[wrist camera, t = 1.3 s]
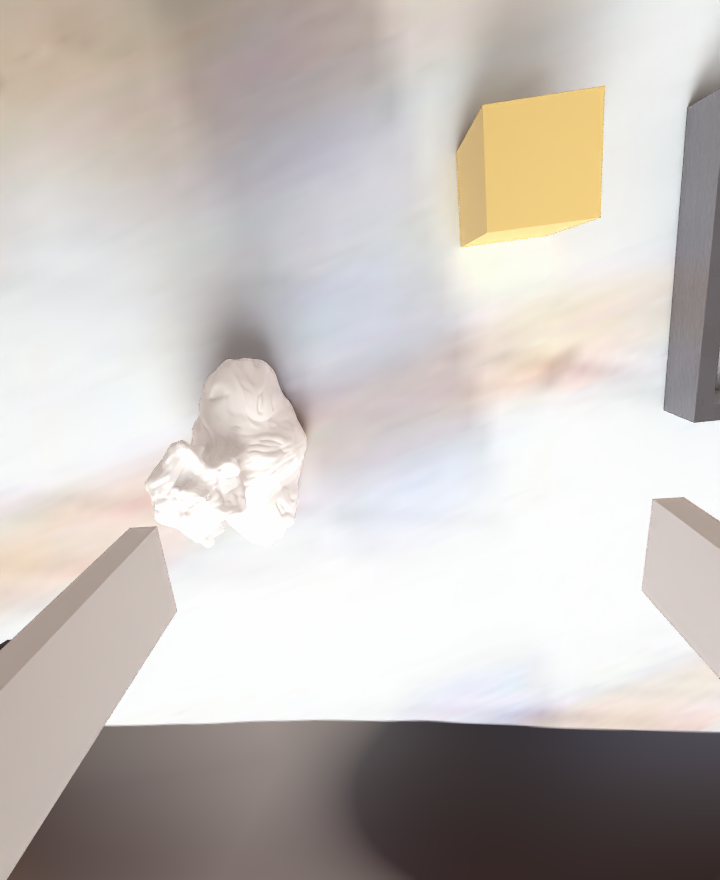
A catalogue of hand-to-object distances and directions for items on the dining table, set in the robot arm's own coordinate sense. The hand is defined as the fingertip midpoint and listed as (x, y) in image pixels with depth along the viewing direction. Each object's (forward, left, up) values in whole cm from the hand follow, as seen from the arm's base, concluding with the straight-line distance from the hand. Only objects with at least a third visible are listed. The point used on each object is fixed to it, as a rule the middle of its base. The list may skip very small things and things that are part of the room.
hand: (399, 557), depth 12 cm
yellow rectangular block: (-11, +8, -19) cm, 24 cm away
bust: (+2, -9, -19) cm, 21 cm away
